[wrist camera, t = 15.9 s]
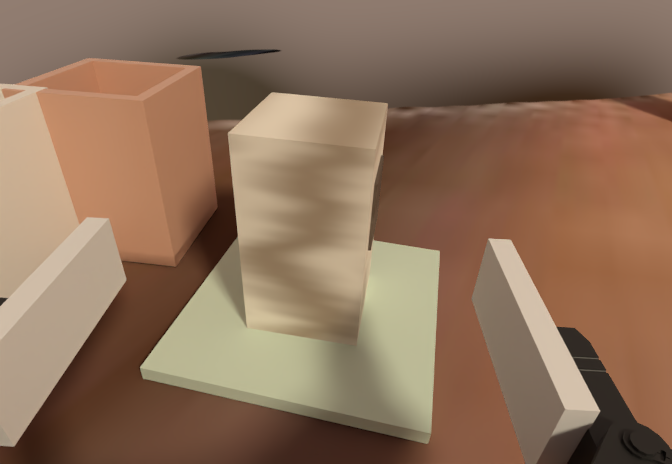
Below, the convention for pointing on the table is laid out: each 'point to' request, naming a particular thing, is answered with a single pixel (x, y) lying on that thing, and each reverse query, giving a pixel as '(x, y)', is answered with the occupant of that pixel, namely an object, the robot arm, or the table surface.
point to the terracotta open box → (133, 151)
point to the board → (316, 350)
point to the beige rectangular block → (307, 212)
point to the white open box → (29, 190)
